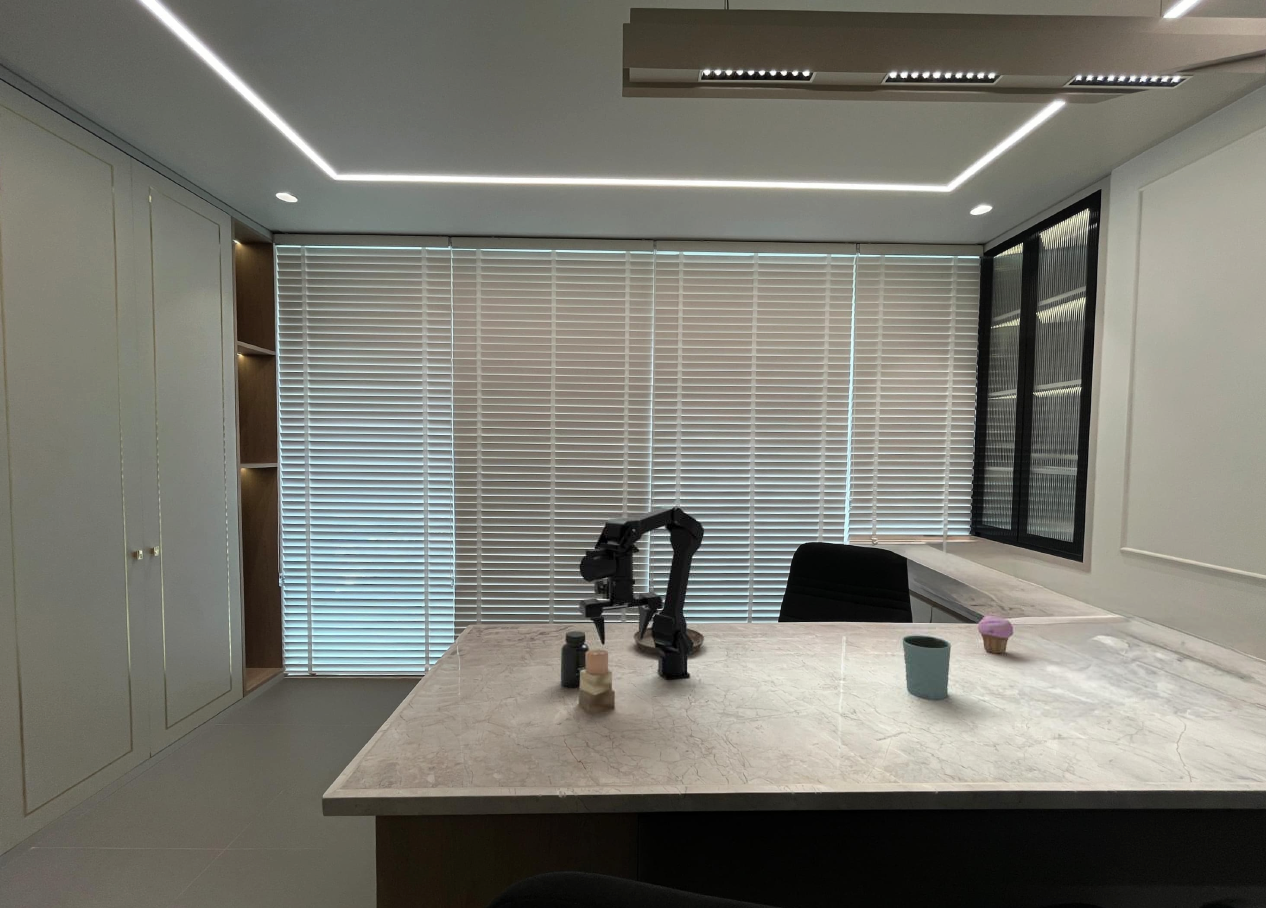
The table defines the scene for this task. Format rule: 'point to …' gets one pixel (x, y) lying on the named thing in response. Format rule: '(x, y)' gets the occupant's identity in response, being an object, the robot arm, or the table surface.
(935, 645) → the teal cup
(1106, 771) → the table surface
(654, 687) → the table surface
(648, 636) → the plant saucer
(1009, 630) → the cupcake
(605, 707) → the walnut block
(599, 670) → the peach cylinder
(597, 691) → the oak block
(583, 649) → the supplement bottle
